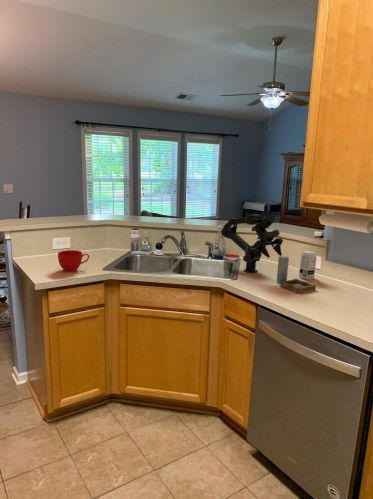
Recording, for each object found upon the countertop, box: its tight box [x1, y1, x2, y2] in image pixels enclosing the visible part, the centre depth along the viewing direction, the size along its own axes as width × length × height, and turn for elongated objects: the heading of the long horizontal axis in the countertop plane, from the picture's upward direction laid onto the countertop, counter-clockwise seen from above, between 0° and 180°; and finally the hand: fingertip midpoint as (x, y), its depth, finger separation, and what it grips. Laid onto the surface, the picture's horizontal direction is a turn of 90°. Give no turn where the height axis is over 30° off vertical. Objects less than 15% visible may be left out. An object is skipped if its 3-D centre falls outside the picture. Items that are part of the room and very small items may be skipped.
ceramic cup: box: [57, 249, 90, 273], centre depth 205 cm, size 13×17×10 cm
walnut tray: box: [279, 278, 317, 295], centre depth 188 cm, size 12×12×2 cm
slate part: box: [276, 255, 290, 284], centre depth 195 cm, size 5×5×14 cm
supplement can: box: [298, 250, 317, 280], centre depth 205 cm, size 8×8×15 cm
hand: (275, 256), depth 199 cm, fingers open, 9 cm apart
